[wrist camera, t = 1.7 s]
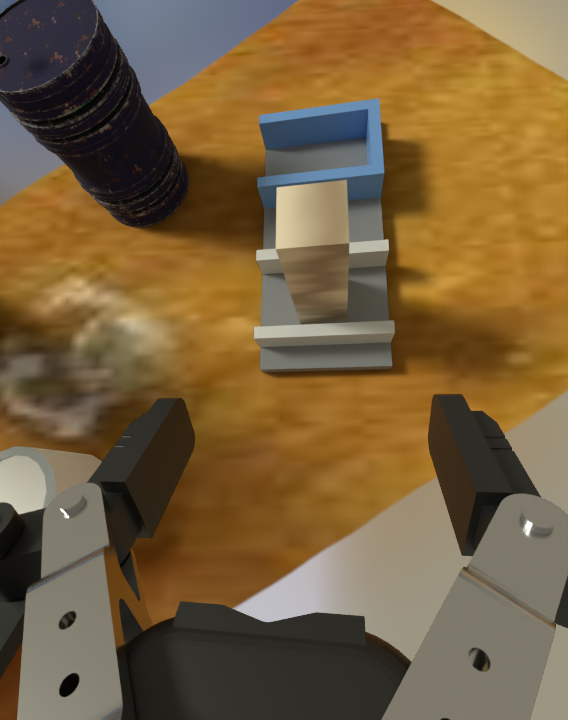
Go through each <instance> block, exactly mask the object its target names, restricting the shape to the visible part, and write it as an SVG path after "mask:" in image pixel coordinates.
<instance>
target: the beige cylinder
mask: <svg viewBox="0 0 568 720" xmlns="http://www.w3.org/2000/svg"><path fill="white" fill-rule="evenodd" d="M101 463H102V461H101V460H99V459H98V458H96V457H95V456H93V455H89V454H81V453H73V452H65V451H57V450H49V449H41V448H33V447H20V446H15V447H13V448H10V449H7V450H5V451H2V452H0V503H1V502H5V503H9V504H11V505H12V506H13V507H14V509H15V510H16V511H17V513H18V514H23V513H27V512H31V511H35V510H39V509H43V508H47V506H48V505H49V504H50V502H51V501H52V500H53V499H54V498H55V497H56V496H58V495H59V494H60V493H62V492H63V491H65V490H66V489H68V488H70V487H72V486H75V485H78V484H82V483H87V482H88V480H89V479H90V478H91V476H92V475H93V474H94V472H95V471H96V469H97V468H98V467H99V465H100V464H101Z"/></svg>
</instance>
